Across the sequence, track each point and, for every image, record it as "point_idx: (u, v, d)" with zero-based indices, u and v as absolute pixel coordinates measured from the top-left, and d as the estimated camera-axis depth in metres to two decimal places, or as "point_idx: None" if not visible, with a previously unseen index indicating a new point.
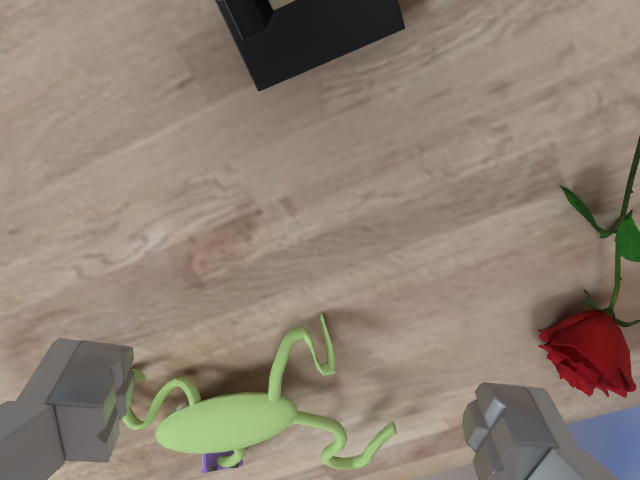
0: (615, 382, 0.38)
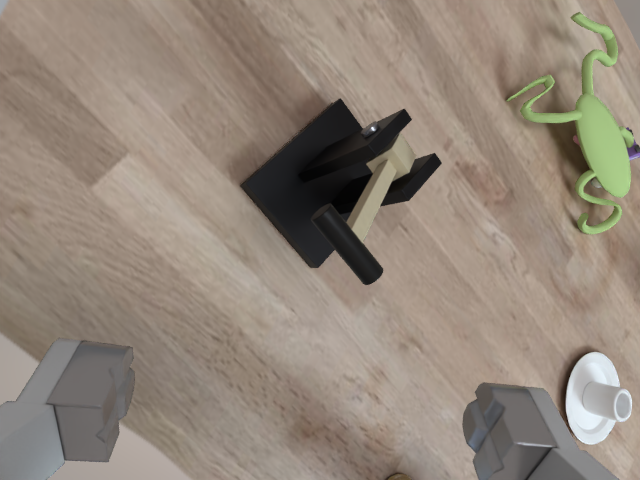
0: None
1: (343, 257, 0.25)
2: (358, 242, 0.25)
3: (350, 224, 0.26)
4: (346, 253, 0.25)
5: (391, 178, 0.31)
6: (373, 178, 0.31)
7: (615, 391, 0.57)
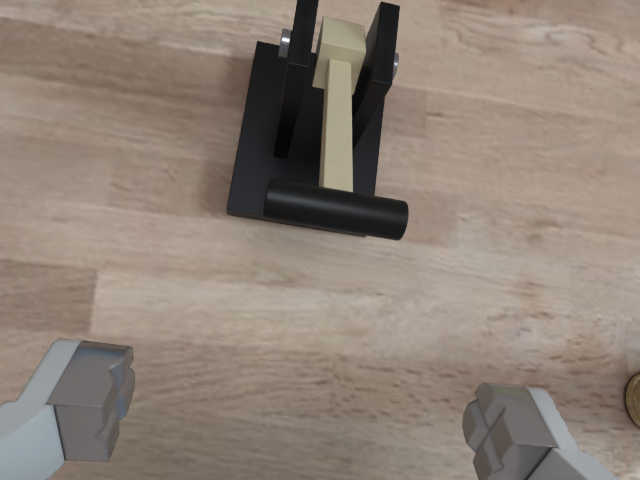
0: None
1: (341, 230, 0.16)
2: (342, 197, 0.15)
3: (321, 180, 0.17)
4: (338, 222, 0.15)
5: (348, 77, 0.21)
6: (325, 96, 0.21)
7: None
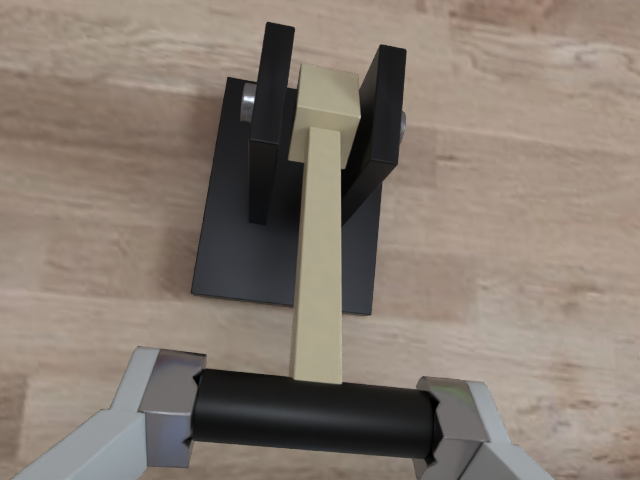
0: None
1: None
2: (325, 405, 0.09)
3: (292, 354, 0.10)
4: (318, 447, 0.09)
5: (336, 156, 0.15)
6: (303, 186, 0.14)
7: None
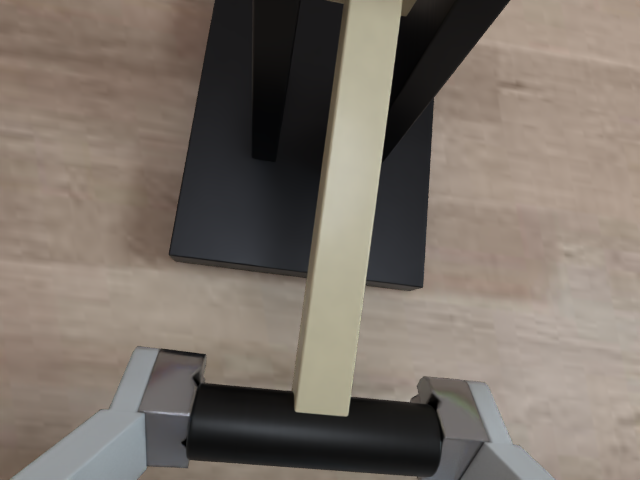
0: None
1: None
2: (325, 448, 0.09)
3: (297, 369, 0.09)
4: (316, 467, 0.09)
5: (390, 37, 0.09)
6: (334, 89, 0.10)
7: None
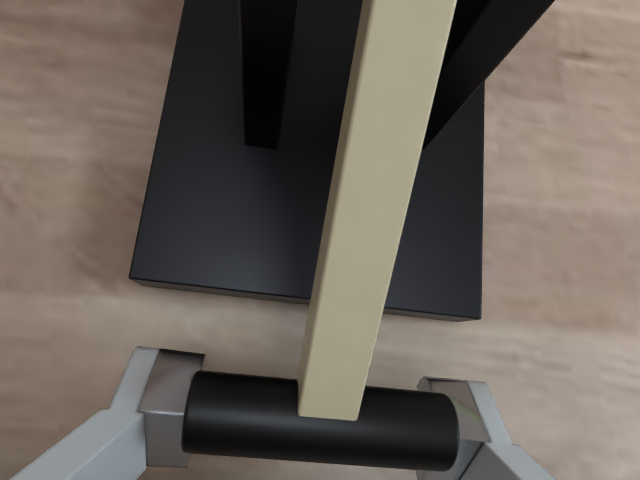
0: None
1: None
2: (330, 452, 0.08)
3: (302, 368, 0.08)
4: None
5: None
6: (365, 6, 0.06)
7: None
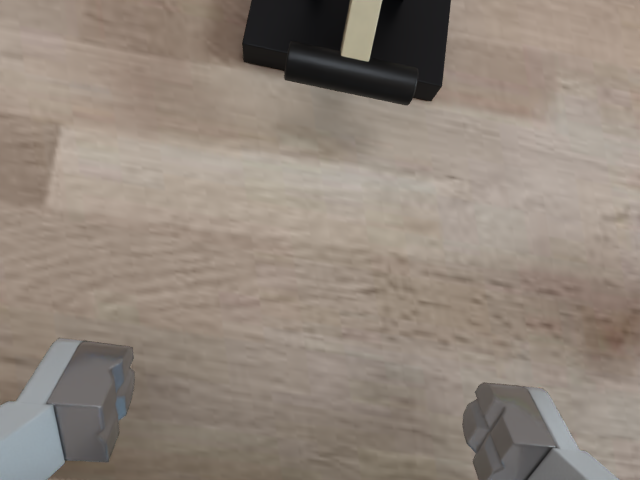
0: None
1: None
2: (355, 75, 0.17)
3: (344, 35, 0.17)
4: None
5: None
6: None
7: None
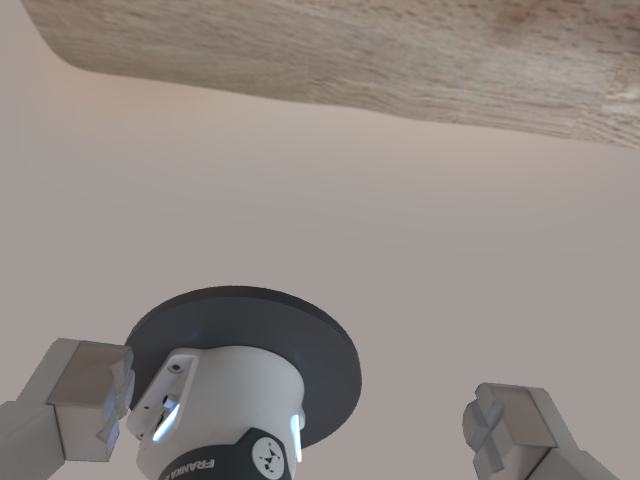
0: None
1: None
2: None
3: None
4: None
5: None
6: None
7: None
